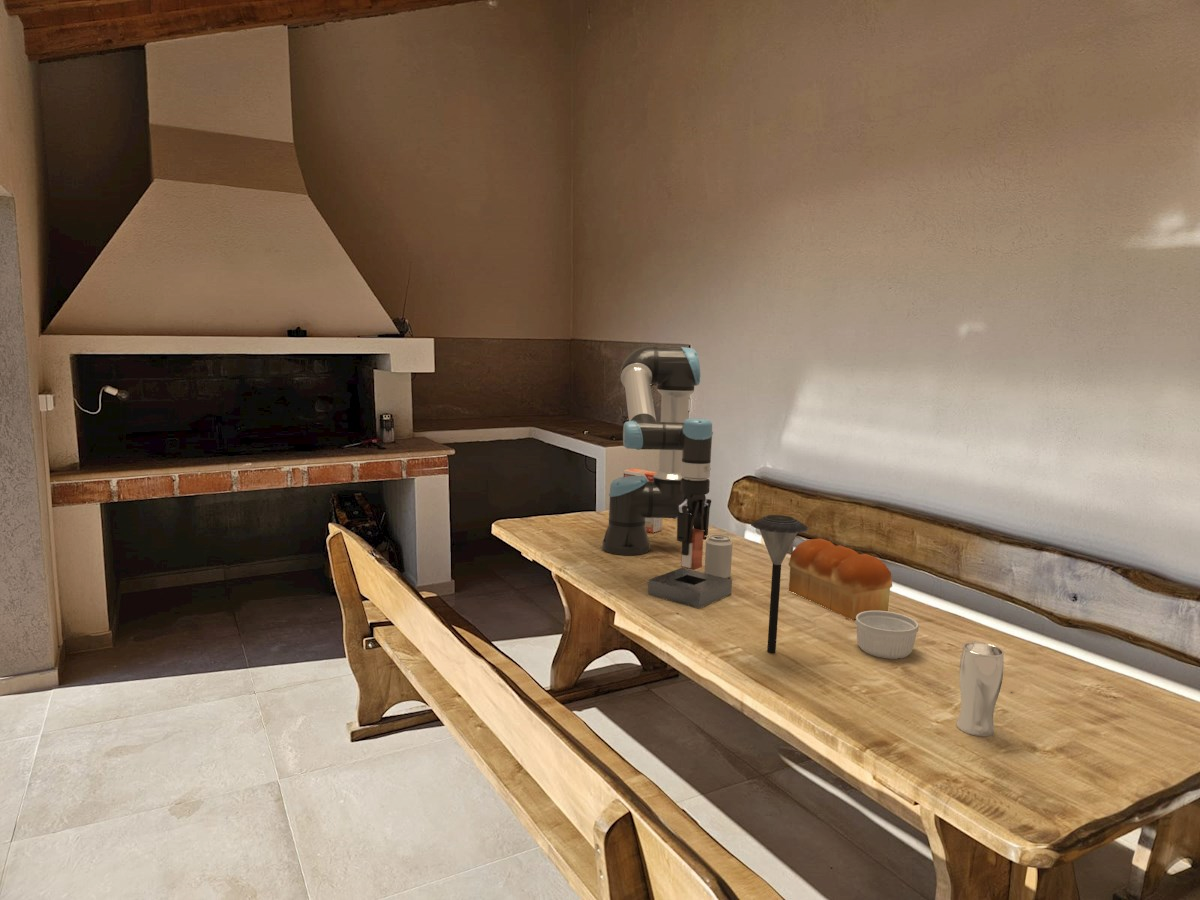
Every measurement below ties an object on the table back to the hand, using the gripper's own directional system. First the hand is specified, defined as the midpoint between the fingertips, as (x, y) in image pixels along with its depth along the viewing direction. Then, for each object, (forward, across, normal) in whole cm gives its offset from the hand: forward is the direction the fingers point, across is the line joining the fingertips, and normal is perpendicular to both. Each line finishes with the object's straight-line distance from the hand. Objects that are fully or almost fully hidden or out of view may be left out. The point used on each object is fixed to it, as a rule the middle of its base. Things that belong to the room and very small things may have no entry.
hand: (691, 564), depth 214 cm
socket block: (+8, 0, 0) cm, 8 cm away
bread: (+9, +22, -31) cm, 39 cm away
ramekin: (+9, -2, -53) cm, 54 cm away
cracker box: (+8, +50, +53) cm, 73 cm away
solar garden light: (+9, -21, -35) cm, 42 cm away
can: (+8, +19, +3) cm, 21 cm away
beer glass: (+9, -28, -79) cm, 84 cm away
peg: (+1, 0, 0) cm, 1 cm away
